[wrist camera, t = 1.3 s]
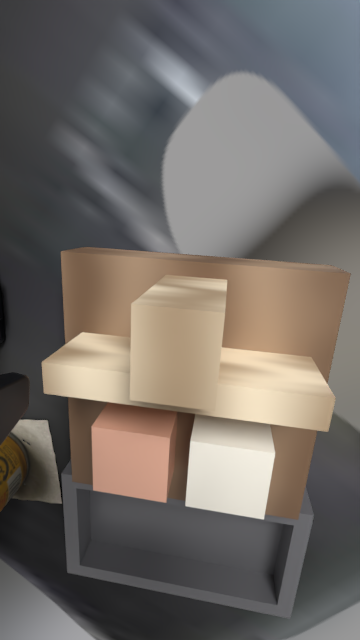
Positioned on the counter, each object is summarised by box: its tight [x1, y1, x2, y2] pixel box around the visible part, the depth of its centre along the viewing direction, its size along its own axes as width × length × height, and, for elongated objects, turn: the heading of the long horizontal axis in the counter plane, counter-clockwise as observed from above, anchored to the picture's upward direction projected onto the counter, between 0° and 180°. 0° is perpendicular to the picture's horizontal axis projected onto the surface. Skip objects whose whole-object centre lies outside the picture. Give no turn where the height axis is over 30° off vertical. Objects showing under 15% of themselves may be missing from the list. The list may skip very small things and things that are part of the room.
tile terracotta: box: [91, 402, 178, 503], centre depth 18 cm, size 4×4×2 cm
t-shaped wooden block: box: [42, 275, 335, 432], centre depth 14 cm, size 12×5×6 cm, turn 87°
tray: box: [61, 460, 314, 619], centre depth 23 cm, size 16×9×2 cm, turn 87°
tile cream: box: [185, 414, 275, 520], centre depth 17 cm, size 4×4×2 cm
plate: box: [61, 247, 350, 520], centre depth 19 cm, size 14×14×3 cm
